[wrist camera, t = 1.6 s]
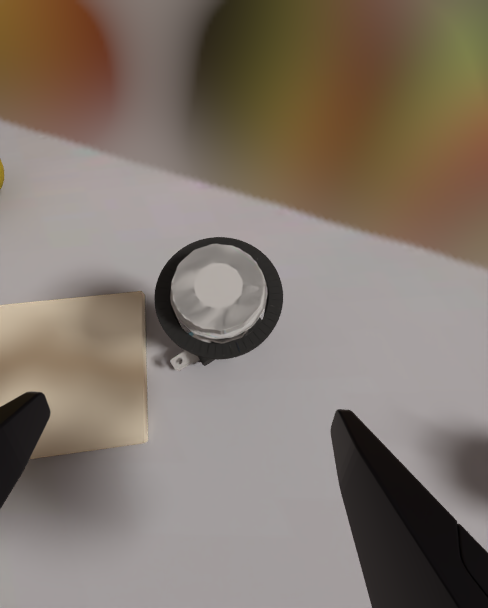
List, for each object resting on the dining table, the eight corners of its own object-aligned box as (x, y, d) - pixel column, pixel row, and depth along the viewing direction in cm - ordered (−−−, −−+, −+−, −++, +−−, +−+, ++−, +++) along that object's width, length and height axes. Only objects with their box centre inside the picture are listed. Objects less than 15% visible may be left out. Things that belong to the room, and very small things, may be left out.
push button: (196, 399, 19) (159, 409, 9) (157, 334, 20) (90, 283, 11) (276, 345, 20) (315, 304, 11) (235, 287, 21) (237, 203, 12)
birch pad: (147, 441, 18) (144, 443, 17) (-18, 464, 17) (-29, 467, 16) (144, 294, 21) (141, 291, 20) (3, 309, 20) (-6, 305, 19)
